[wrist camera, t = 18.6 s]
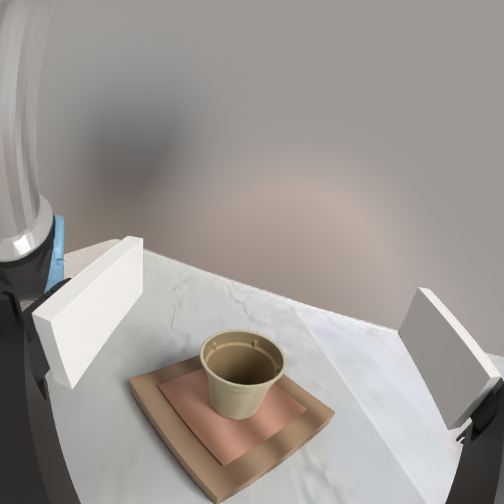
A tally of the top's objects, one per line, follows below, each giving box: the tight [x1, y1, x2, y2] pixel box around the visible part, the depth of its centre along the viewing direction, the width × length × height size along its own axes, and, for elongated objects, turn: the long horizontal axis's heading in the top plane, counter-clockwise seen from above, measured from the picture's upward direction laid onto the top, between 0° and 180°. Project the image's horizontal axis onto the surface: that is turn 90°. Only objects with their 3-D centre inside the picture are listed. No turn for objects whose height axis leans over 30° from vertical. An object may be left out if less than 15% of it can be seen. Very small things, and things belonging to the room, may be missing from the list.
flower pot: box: [200, 330, 286, 420], centre depth 31 cm, size 9×9×9 cm
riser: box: [129, 355, 335, 504], centre depth 33 cm, size 20×20×4 cm
